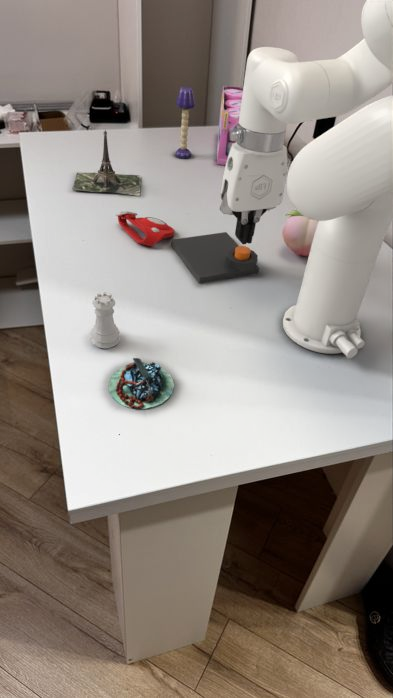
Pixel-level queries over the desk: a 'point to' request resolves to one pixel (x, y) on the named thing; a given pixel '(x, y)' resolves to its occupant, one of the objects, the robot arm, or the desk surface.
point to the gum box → (228, 120)
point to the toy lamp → (184, 119)
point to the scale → (213, 257)
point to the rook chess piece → (104, 322)
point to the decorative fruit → (299, 233)
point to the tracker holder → (145, 228)
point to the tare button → (242, 253)
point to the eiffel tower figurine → (107, 178)
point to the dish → (141, 385)
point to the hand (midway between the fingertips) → (243, 240)
